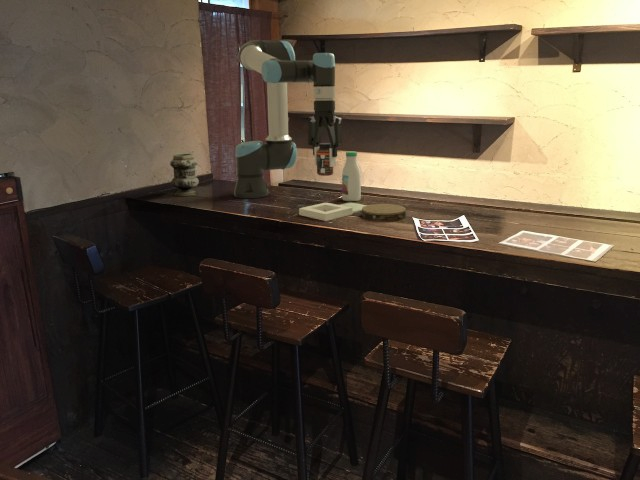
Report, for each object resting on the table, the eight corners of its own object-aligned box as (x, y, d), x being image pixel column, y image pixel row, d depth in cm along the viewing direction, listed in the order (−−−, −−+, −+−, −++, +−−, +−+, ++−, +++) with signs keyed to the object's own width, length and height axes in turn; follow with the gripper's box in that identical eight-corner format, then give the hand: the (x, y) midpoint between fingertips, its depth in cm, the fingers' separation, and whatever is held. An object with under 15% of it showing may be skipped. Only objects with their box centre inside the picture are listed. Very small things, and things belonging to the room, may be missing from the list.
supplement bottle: (325, 176, 189) (325, 144, 186) (313, 175, 193) (313, 143, 189) (336, 174, 193) (336, 143, 190) (324, 172, 197) (324, 142, 194)
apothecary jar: (196, 196, 234) (192, 155, 229) (169, 196, 234) (165, 156, 229) (202, 191, 246) (199, 152, 241) (176, 191, 246) (173, 152, 241)
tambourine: (371, 210, 204) (371, 202, 203) (411, 213, 197) (411, 205, 196) (355, 219, 190) (355, 211, 190) (397, 223, 184) (397, 215, 183)
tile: (329, 208, 206) (329, 207, 206) (350, 203, 214) (350, 202, 214) (352, 213, 198) (352, 211, 198) (373, 208, 206) (373, 206, 206)
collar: (299, 214, 197) (299, 208, 196) (326, 208, 206) (325, 202, 206) (325, 221, 187) (325, 214, 187) (352, 214, 197) (352, 207, 196)
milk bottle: (360, 198, 225) (361, 150, 220) (360, 201, 218) (360, 153, 212) (342, 197, 226) (342, 150, 220) (341, 201, 218) (341, 153, 213)
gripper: (296, 99, 188) (298, 164, 194) (340, 100, 177) (341, 168, 184) (309, 99, 194) (310, 162, 200) (352, 99, 183) (352, 166, 189)
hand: (325, 165), depth 192 cm, fingers closed on supplement bottle, 6 cm apart
